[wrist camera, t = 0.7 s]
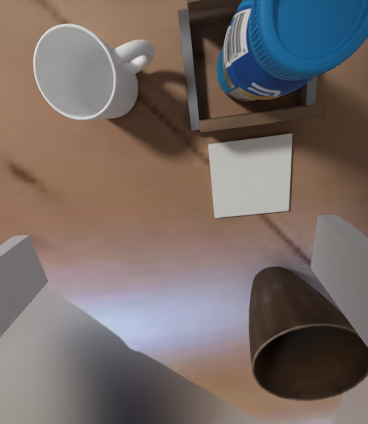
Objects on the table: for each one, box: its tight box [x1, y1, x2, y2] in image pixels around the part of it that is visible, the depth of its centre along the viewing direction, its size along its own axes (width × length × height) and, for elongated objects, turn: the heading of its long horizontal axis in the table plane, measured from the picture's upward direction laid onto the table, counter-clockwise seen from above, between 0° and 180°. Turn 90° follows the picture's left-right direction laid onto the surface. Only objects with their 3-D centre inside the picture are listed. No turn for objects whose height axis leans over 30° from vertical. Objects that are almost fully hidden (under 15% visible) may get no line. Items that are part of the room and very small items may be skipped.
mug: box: [33, 24, 154, 120], centre depth 27 cm, size 12×8×10 cm
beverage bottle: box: [217, 0, 368, 102], centre depth 21 cm, size 8×8×20 cm
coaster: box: [208, 133, 292, 218], centre depth 36 cm, size 12×12×1 cm
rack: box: [178, 0, 325, 132], centre depth 27 cm, size 13×16×7 cm
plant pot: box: [249, 267, 368, 401], centre depth 37 cm, size 15×15×16 cm
